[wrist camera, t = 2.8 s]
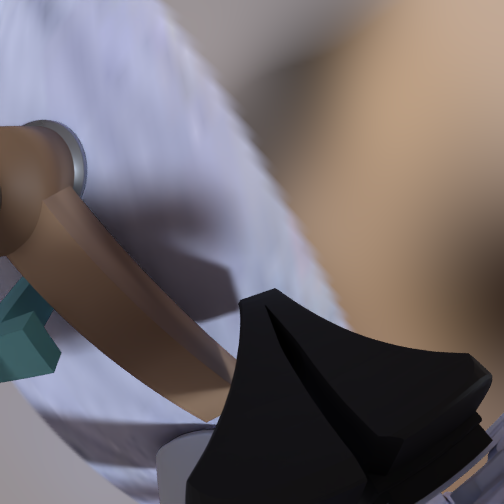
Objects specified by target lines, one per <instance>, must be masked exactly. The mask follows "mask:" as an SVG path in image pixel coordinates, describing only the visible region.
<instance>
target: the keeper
mask: <svg viewBox="0 0 504 504" xmlns="http://www.w3.org/2000/svg"><path fill="white" fill-rule="evenodd" d="M53 309H54V308H53V307H52V306H51V305H50V304H49V303H48V302H47V301H46V300H45V299H44V298H43V297H42V296H41V295H40V294H39V293H38V292H37V291H36V290H35V289H34V288H33V287H32V286H31V285H30V283H29V282H28V281H27V280H26V279H25V278H24V277H23V276H22V278H21V279H20V280H19V281H18V282H17V283H16V285H15V286H14V287H13V288H12V289H11V290H10V292H9V293H8V294H7V295H6V297H5V298H4V299H3V300H2V302H1V303H0V383H1V382H7V381H13V380H19V379H24V378H30V377H35V376H40V375H45V374H50V373H54V371H55V369H56V366H57V363H58V360H59V358H60V355H61V351H60V350H59V348H58V347H57V346H56V344H55V343H54V341H53V340H52V338H51V337H50V335H49V334H48V333H47V331H46V329H45V328H44V326H45V324H46V322H47V320H48V318H49V317H50V315H51V313H52V311H53Z"/></svg>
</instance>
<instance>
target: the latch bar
mask: <svg viewBox="0 0 504 504" xmlns="http://www.w3.org/2000/svg"><path fill="white" fill-rule="evenodd" d="M74 176H75V171H74V162H73V158H72V154H71V151H70V149H69V147H68V145H67V144H66V142H65V141H64V139H63V138H62V137H61V136H60V135H59V134H58V133H57V132H55V131H54V130H52V129H50V128H47V127H43V126H0V187H1V192H2V205H1V210H0V257H1V256H7V258H8V259H9V260H10V261H11V263H12V264H13V265H14V266H15V267H16V269H17V270H18V271H19V272H20V273H21V274H22V276H23V277H24V278H25V279H26V280H27V281H28V282H29V283H30V285H31V286H32V287H33V288H34V289H35V290H36V291H37V292H38V293H39V294H40V295H41V296H42V297H43V298H44V299H45V300H46V301H47V302H48V303H49V304H50V305H51V306H52V307H53V308H54V309H55V310H56V311H57V312H58V313H59V314H60V315H61V316H62V317H63V318H64V319H65V320H66V321H67V322H68V323H69V324H70V325H71V326H72V327H74V328H75V329H76V330H77V331H78V332H79V333H80V334H81V335H82V336H84V337H85V338H86V339H87V340H88V341H89V342H91V343H92V344H93V345H94V346H95V347H97V348H98V349H99V350H100V351H101V352H103V353H104V354H105V355H106V356H108V357H109V358H110V359H111V360H113V361H114V362H115V363H116V364H118V365H119V366H120V367H122V368H123V369H124V370H126V371H127V372H128V373H130V374H131V375H133V376H134V377H135V378H137V379H138V380H139V381H141V382H142V383H144V384H145V385H147V386H148V387H150V388H151V389H152V390H154V391H155V392H157V393H158V394H160V395H162V396H163V397H165V398H166V399H168V400H169V401H171V402H172V403H174V404H176V405H177V406H179V407H181V408H182V409H184V410H186V411H187V412H189V413H191V414H192V415H194V416H196V417H197V418H199V419H201V420H203V421H205V422H206V423H207V422H209V421H210V420H212V419H214V418H216V417H218V416H220V415H221V413H222V410H223V408H224V405H225V402H226V399H227V396H228V393H229V390H230V386H231V382H232V379H233V375H234V370H235V365H236V359H235V358H234V357H233V356H232V355H230V354H229V353H228V352H227V351H226V350H225V349H224V348H222V347H221V346H220V345H219V344H218V343H217V342H216V341H215V340H214V339H213V338H211V337H210V336H209V335H208V334H207V333H206V332H205V331H204V330H203V329H202V328H201V327H200V326H198V325H197V324H196V323H195V322H194V321H193V320H192V319H191V318H190V317H189V316H188V315H187V314H186V313H185V312H184V311H183V310H182V309H181V308H180V307H179V306H178V305H177V304H176V303H175V302H174V301H173V300H172V299H171V298H170V297H169V296H168V295H167V294H166V293H165V292H164V291H163V290H162V289H161V288H160V287H159V286H158V285H157V284H156V283H155V282H154V281H153V280H152V279H151V278H150V277H149V276H148V275H147V274H146V273H145V272H144V271H143V270H142V269H141V268H140V266H139V265H138V264H137V263H136V262H135V261H134V260H133V259H132V258H131V257H130V256H129V255H128V253H127V252H126V251H125V250H124V249H123V248H122V247H121V246H120V245H119V243H118V242H117V241H116V240H115V239H114V238H113V237H112V235H111V234H110V233H109V232H108V231H107V230H106V229H105V227H104V226H103V225H102V224H101V223H100V221H99V220H98V219H97V218H96V217H95V216H94V214H93V213H92V212H91V211H90V209H89V208H88V207H87V206H86V205H85V203H84V202H83V201H82V200H81V198H80V197H79V196H78V195H77V193H76V192H75V191H74V189H73V186H74Z"/></svg>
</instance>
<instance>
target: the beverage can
mask: <svg viewBox="0 0 504 504" xmlns="http://www.w3.org/2000/svg"><path fill="white" fill-rule="evenodd" d="M213 431H214V430H200V431H194V432H190V433H187V434H184V435H181V436H179V437H177V438H175V439H173V440H172V441H171V442H169V443H167V444H165V445H164V446H163V447H161V448H160V449H159V451H158V452H157V455H156V468H157V480H158V490H159V499H160V504H185V491H186V481H187V479H188V477H189V476H190V474H191V472H192V471H193V469H194V467H195V466H196V464H197V462H198V460H199V459H200V457H201V455H202V454H203V452H204V450H205V448H206V446H207V444H208V442H209V440H210V438H211V436H212V434H213Z"/></svg>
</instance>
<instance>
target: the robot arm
mask: <svg viewBox="0 0 504 504" xmlns="http://www.w3.org/2000/svg"><path fill="white" fill-rule="evenodd" d="M238 305H239V309H240V338H239V347H238V354H237V360H236V365H235V370H234V375H233V379H232V382H231V386H230V390H229V393H228V396H227V399H226V402H225V405H224V408H223V410H222V413H221V416H220V418H219V420H218V423H217V425H216V427H215V429H214V431H213V434H212V436H211V438H210V440H209V442H208V444H207V446H206V448H205V450H204V452H203V454H202V455H201V457H200V459H199V460H198V462H197V464H196V466H195V467H194V469H193V471H192V472H191V474H190V476H189V477H188V479H187V481H186V491H185V504H504V413H503V414H502V415H501V416H500V417H499V418H498V419H497V420H496V421H495V422H494V423H493V425H491V426H490V427H489V428H488V429H487V430H486V431H484V429H483V428H482V427H481V426H480V425H479V423H480V422H481V421H482V418H481V417H480V415H478V413H477V412H476V410H477V408H478V406H479V405H480V403H481V402H482V400H483V399H484V397H485V395H486V393H487V392H488V390H489V388H490V386H491V383H492V375H491V373H490V372H489V371H488V370H486V368H484V367H483V366H482V365H481V364H480V363H479V362H478V361H477V360H476V359H475V358H474V357H472V356H471V355H470V354H469V353H448V352H432V351H426V350H419V349H412V348H407V347H402V346H397V345H393V344H388V343H385V342H381V341H378V340H374V339H371V338H368V337H365V336H362V335H359V334H357V333H354V332H351V331H349V330H347V329H344V328H342V327H340V326H338V325H336V324H334V323H332V322H329V321H327V320H326V319H324V318H322V317H320V316H318V315H316V314H315V313H313V312H311V311H309V310H308V309H306V308H304V307H303V306H301V305H300V304H298V303H296V302H295V301H293V300H292V299H290V298H289V297H287V296H286V295H285V294H283V293H282V292H280V291H279V290H277V289H275V288H274V289H271V290H268V291H266V292H263V293H260V294H257V295H254V296H251V297H248V298H245V299H242V300H240V302H239V303H238ZM489 451H490V452H489ZM488 452H489V454H488V461H487V463H486V464H485V465H484V466H483V467H482V468H481V469H479V470H478V471H477V472H476V473H475V474H473V475H472V476H471V477H470V478H469V479H468V480H466V481H465V482H464V483H463V484H462V485H461V486H459V487H458V488H457V489H456V490H455V491H453V492H445V493H444V494H443V495H442V493H441V492H442V491H444V490H445V489H446V488H448V487H449V486H450V485H451V484H453V483H454V482H455V481H456V480H458V479H459V478H460V477H462V476H463V475H464V474H465V473H466V472H467V471H469V470H470V469H471V468H472V467H473V466H474V465H475V464H477V463H478V462H479V461H480V460H481V459H482V458H483V457H484V456H485V455H486V454H487V453H488Z"/></svg>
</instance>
